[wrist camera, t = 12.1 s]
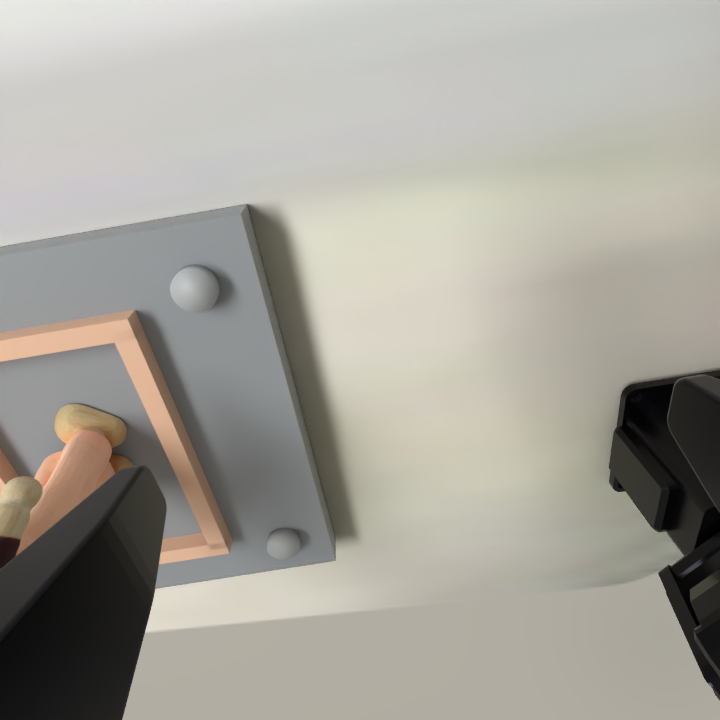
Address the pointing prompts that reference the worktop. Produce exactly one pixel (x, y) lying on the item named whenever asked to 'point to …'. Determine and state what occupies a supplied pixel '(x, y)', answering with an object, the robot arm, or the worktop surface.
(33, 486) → the grandmother figurine
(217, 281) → the base plate
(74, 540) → the robot arm
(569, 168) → the worktop surface
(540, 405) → the worktop surface
